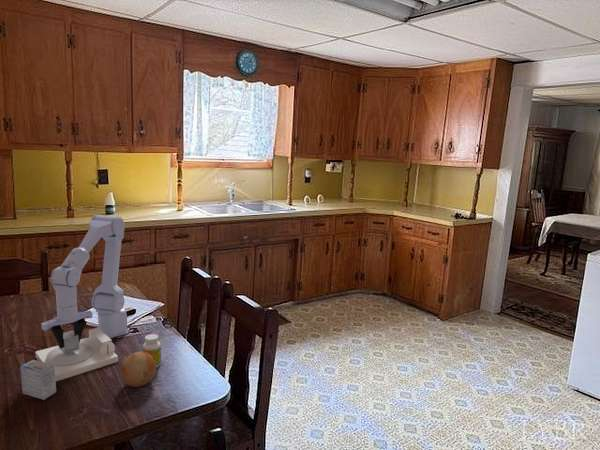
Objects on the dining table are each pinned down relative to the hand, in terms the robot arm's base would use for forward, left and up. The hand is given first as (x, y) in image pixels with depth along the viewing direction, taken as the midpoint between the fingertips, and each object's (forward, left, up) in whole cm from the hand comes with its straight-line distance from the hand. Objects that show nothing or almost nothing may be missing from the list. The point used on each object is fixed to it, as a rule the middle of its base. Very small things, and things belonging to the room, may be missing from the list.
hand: (69, 344), depth 139 cm
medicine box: (+12, +13, -6) cm, 19 cm away
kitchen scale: (-2, 0, -6) cm, 6 cm away
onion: (-11, +26, -6) cm, 29 cm away
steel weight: (0, 0, -2) cm, 2 cm away
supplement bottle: (-19, +18, -6) cm, 27 cm away
